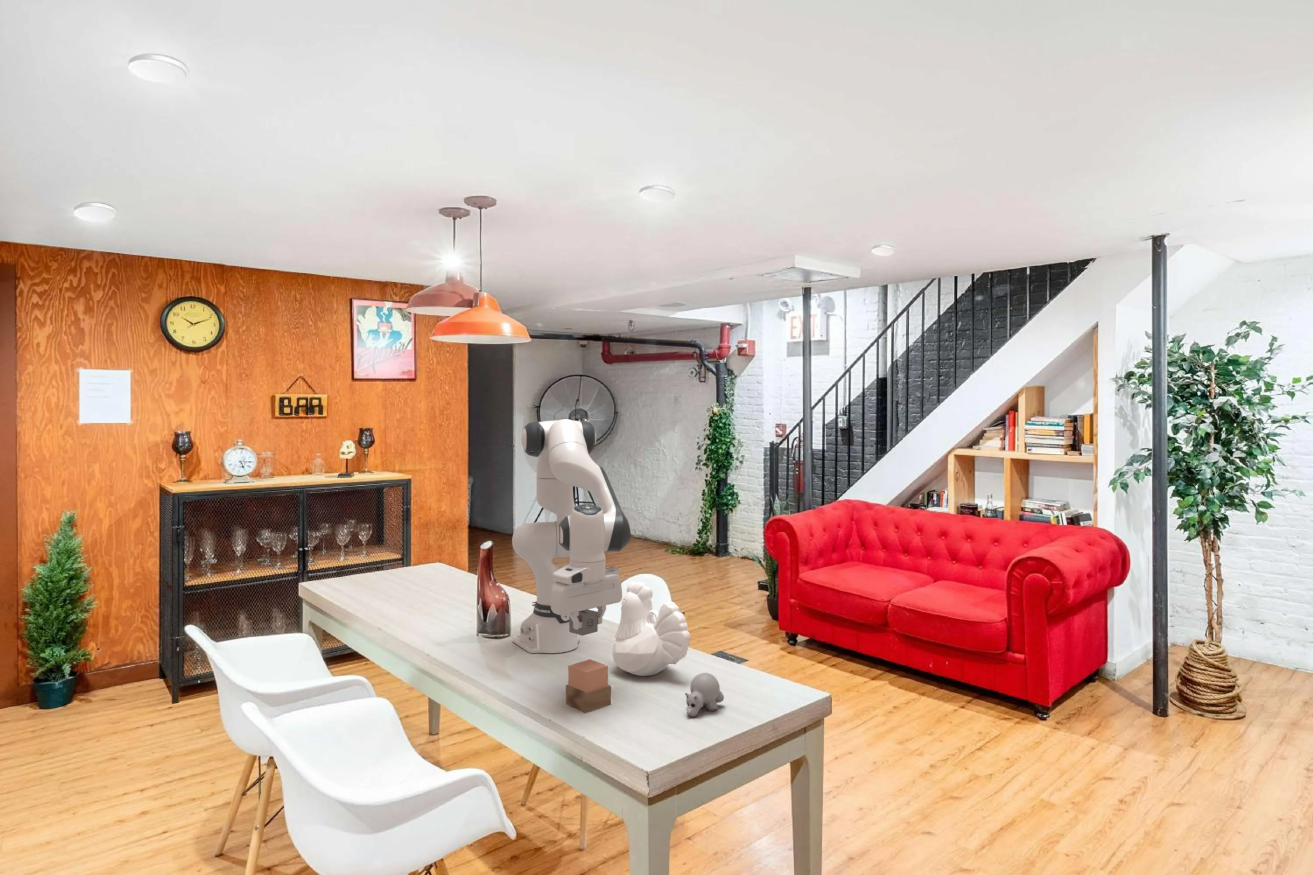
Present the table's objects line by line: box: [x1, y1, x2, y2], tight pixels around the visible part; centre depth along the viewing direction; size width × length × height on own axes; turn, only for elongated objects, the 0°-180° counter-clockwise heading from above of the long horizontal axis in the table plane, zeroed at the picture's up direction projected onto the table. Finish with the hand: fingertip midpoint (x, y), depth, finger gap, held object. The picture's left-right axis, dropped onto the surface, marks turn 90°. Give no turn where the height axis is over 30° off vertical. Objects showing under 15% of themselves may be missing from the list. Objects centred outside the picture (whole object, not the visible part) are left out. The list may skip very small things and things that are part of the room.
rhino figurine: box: [684, 672, 725, 718], centre depth 186 cm, size 7×12×8 cm, turn 140°
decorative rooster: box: [612, 581, 691, 677], centre depth 211 cm, size 25×16×25 cm, turn 35°
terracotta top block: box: [567, 659, 609, 693], centre depth 190 cm, size 7×7×5 cm
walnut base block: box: [565, 684, 612, 714], centre depth 190 cm, size 8×8×5 cm
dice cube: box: [569, 609, 599, 637], centre depth 191 cm, size 5×5×5 cm
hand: (587, 626), depth 190 cm, fingers closed on dice cube, 5 cm apart
